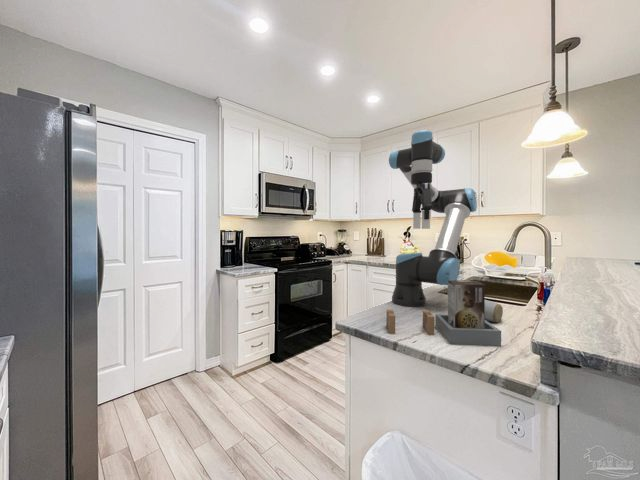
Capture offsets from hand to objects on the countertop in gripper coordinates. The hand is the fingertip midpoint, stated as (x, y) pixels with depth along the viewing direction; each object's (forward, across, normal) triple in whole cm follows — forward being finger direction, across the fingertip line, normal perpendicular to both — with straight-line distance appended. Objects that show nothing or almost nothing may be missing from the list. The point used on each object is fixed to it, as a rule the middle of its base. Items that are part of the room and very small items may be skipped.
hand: (421, 228), depth 104 cm
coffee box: (+33, +17, +10) cm, 39 cm away
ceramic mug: (+35, -1, +25) cm, 43 cm away
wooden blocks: (+35, +14, -7) cm, 38 cm away
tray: (+35, +17, +10) cm, 40 cm away
